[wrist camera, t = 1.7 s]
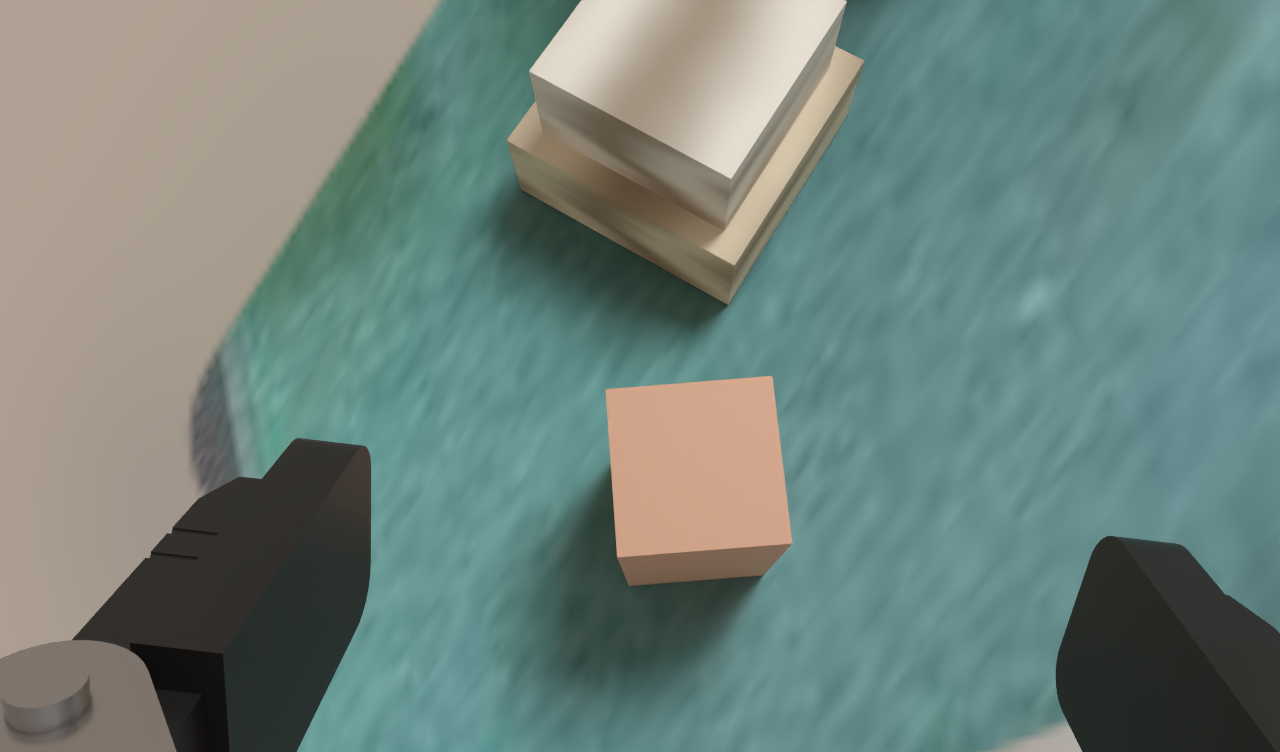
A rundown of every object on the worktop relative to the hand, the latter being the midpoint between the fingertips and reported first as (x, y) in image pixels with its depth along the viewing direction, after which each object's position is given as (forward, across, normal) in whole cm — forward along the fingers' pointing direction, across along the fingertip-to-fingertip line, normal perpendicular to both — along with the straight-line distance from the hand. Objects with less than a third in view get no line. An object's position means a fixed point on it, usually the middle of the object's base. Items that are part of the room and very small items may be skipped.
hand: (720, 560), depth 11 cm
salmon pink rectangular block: (+23, -2, +13) cm, 27 cm away
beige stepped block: (+33, 0, +2) cm, 33 cm away
